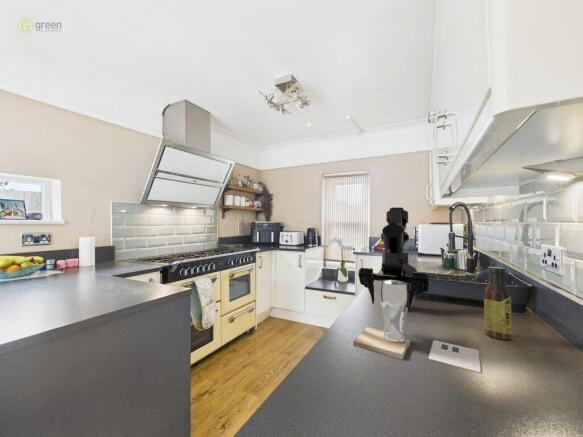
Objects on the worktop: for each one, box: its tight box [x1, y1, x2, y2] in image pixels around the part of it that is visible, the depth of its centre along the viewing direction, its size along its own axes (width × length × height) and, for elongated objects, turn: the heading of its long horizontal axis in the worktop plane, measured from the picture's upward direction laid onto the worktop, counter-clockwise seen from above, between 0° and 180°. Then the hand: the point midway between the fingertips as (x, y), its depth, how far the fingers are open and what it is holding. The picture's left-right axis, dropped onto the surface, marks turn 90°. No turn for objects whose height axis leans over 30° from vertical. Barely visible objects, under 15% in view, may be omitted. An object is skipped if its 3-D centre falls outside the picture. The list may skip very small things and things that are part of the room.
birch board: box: [352, 326, 412, 360], centre depth 68 cm, size 12×12×1 cm
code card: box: [427, 339, 482, 374], centre depth 63 cm, size 12×10×1 cm
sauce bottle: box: [483, 266, 513, 340], centre depth 75 cm, size 6×6×20 cm
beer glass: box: [380, 280, 409, 343], centre depth 69 cm, size 7×7×15 cm
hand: (390, 305), depth 69 cm, fingers open, 9 cm apart
